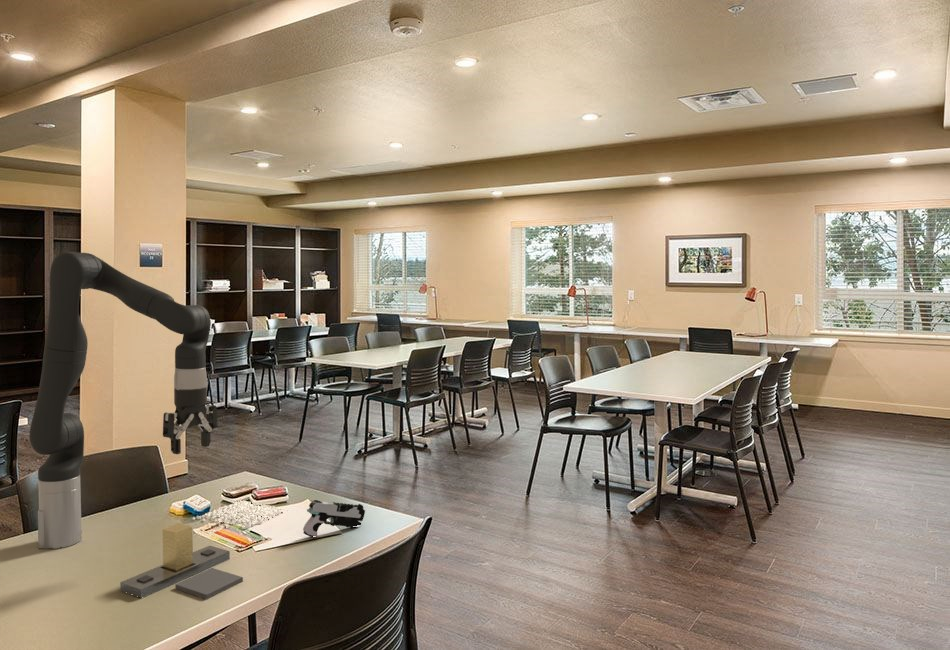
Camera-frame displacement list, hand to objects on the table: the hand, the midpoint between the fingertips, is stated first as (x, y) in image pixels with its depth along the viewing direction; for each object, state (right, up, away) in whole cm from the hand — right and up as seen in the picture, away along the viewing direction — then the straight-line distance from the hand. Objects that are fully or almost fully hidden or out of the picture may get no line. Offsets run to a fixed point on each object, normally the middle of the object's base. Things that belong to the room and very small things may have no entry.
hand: (191, 450), depth 169 cm
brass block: (+2, -27, -12) cm, 29 cm away
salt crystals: (+3, -25, +28) cm, 38 cm away
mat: (+11, -27, -17) cm, 34 cm away
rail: (+2, -27, -12) cm, 29 cm away
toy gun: (+33, -26, +16) cm, 45 cm away
